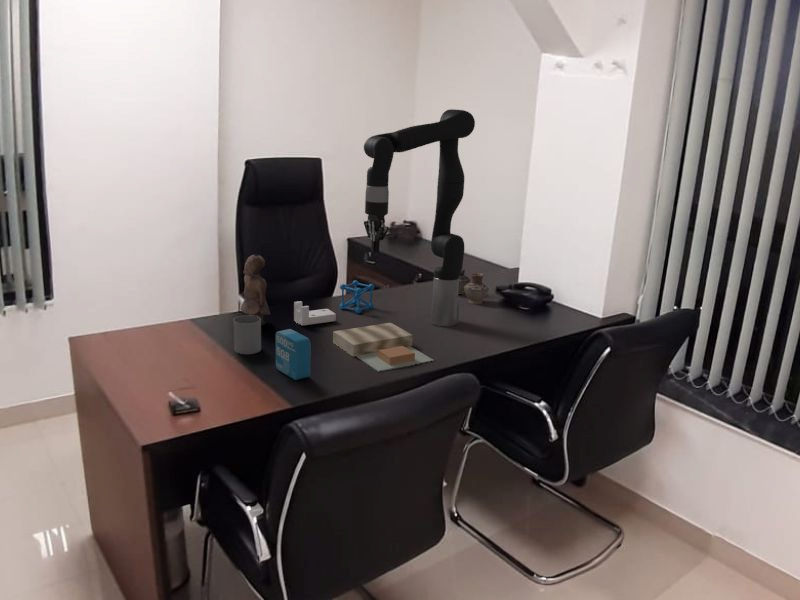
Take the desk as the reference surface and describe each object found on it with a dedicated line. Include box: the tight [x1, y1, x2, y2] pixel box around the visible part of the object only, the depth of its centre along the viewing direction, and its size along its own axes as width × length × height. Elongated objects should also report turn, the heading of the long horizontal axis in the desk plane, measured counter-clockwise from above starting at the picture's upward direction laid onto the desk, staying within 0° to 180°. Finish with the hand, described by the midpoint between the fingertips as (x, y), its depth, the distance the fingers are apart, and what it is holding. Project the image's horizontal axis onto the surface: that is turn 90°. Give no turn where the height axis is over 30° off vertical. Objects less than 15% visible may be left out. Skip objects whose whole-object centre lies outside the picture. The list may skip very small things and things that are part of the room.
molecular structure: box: [339, 279, 375, 314], centre depth 262 cm, size 10×10×10 cm
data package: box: [275, 328, 312, 381], centre depth 198 cm, size 12×4×12 cm, turn 41°
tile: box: [378, 346, 415, 365], centre depth 213 cm, size 9×7×2 cm
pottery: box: [458, 267, 489, 305], centre depth 283 cm, size 11×25×12 cm, turn 29°
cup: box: [232, 314, 262, 355], centre depth 215 cm, size 8×8×10 cm
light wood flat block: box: [332, 322, 414, 357], centre depth 225 cm, size 22×14×4 cm, turn 122°
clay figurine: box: [240, 254, 271, 326], centre depth 237 cm, size 13×10×25 cm
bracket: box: [293, 300, 337, 326], centre depth 245 cm, size 13×7×8 cm, turn 121°
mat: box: [356, 346, 435, 373], centre depth 214 cm, size 20×14×1 cm
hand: (375, 251), depth 227 cm, fingers closed
